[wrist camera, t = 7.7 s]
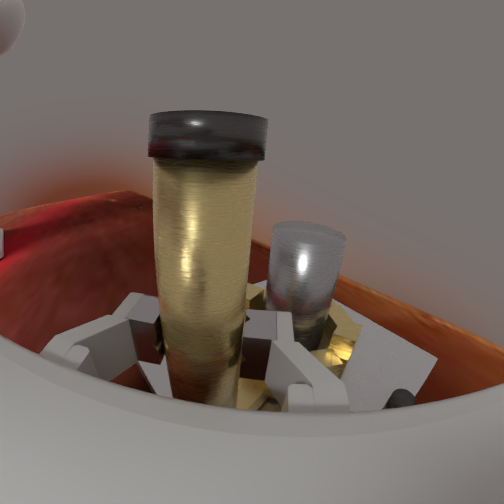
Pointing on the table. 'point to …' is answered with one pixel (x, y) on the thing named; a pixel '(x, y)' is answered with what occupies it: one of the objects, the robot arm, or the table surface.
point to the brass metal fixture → (215, 255)
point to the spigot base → (359, 374)
